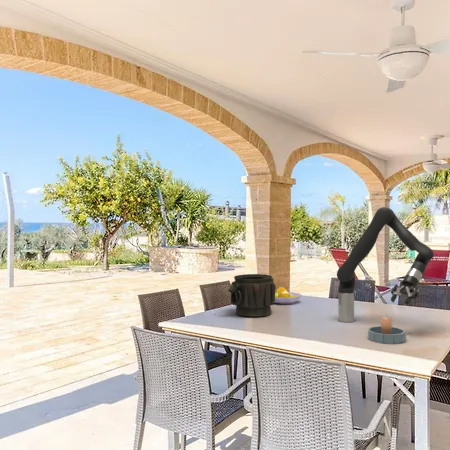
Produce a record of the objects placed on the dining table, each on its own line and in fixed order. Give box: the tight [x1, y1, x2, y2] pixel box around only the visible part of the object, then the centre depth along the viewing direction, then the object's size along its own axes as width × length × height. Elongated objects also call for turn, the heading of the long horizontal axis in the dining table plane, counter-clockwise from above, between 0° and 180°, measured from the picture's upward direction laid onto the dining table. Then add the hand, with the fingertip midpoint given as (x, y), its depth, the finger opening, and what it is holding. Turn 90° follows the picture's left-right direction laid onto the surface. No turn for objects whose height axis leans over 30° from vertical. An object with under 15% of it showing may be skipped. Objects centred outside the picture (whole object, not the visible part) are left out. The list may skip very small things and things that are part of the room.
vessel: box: [227, 273, 277, 317], centre depth 300 cm, size 31×32×25 cm
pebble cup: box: [380, 316, 393, 334], centre depth 233 cm, size 5×5×10 cm
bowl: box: [367, 325, 407, 344], centre depth 233 cm, size 18×18×4 cm
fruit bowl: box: [273, 286, 302, 305], centre depth 340 cm, size 28×27×11 cm
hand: (399, 302), depth 238 cm, fingers open, 8 cm apart
